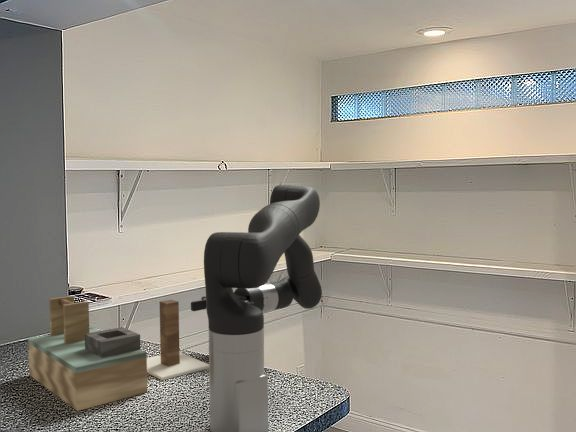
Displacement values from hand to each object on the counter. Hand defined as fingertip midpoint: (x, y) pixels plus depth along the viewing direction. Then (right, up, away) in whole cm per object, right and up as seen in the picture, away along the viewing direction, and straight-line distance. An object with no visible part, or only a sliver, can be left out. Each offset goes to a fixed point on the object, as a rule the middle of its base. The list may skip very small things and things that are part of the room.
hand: (201, 309), depth 138 cm
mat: (-6, -12, -5) cm, 14 cm away
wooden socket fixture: (-21, -13, -16) cm, 30 cm away
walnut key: (-6, -11, -5) cm, 14 cm away
